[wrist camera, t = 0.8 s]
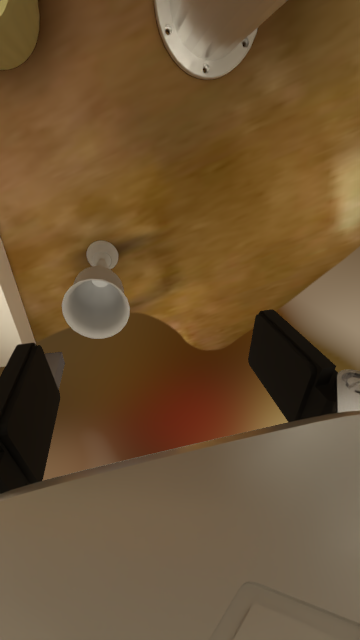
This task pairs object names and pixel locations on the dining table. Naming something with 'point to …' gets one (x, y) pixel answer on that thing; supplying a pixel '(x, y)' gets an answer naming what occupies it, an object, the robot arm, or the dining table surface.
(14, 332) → the socket block
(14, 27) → the potted cactus
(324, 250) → the dining table surface
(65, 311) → the chalice
